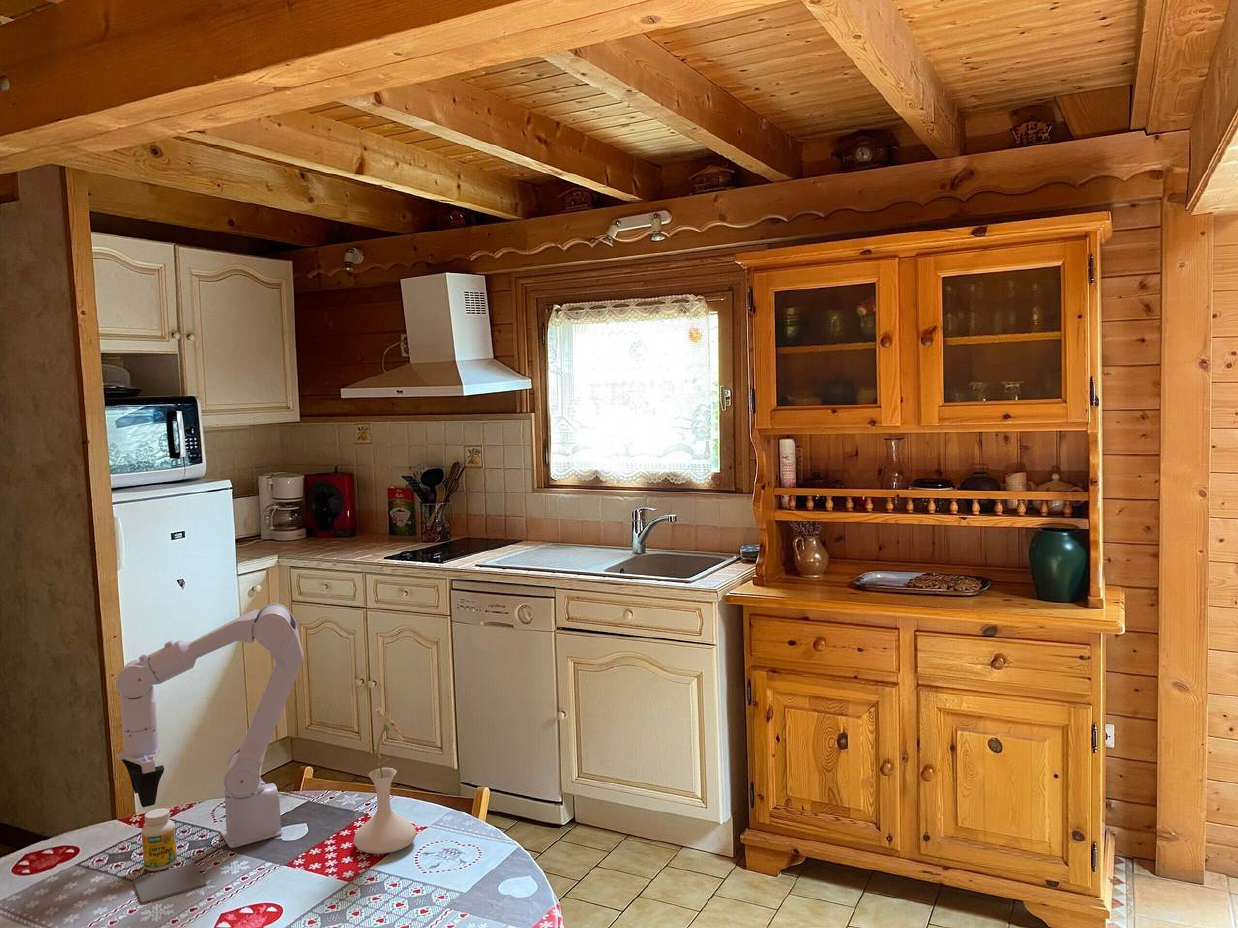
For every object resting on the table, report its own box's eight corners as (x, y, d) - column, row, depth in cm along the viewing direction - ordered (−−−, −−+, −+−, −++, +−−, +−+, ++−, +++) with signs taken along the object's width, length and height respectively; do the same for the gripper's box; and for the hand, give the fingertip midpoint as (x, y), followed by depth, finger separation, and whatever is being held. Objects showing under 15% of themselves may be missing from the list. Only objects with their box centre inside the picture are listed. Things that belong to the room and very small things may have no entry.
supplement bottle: (174, 854, 177) (171, 803, 176) (179, 866, 172) (176, 814, 171) (141, 862, 174) (138, 811, 173) (146, 874, 169) (142, 822, 168)
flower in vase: (418, 855, 174) (412, 720, 172) (352, 864, 172) (346, 727, 170) (415, 823, 187) (410, 697, 185) (354, 831, 184) (348, 703, 182)
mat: (195, 864, 173) (194, 862, 172) (206, 885, 165) (206, 883, 165) (133, 881, 167) (133, 879, 167) (142, 904, 159) (141, 901, 159)
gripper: (109, 720, 180) (114, 791, 181) (121, 743, 168) (127, 818, 170) (150, 712, 184) (155, 781, 185) (165, 733, 172) (170, 807, 174)
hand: (144, 798), depth 178 cm, fingers open, 7 cm apart
